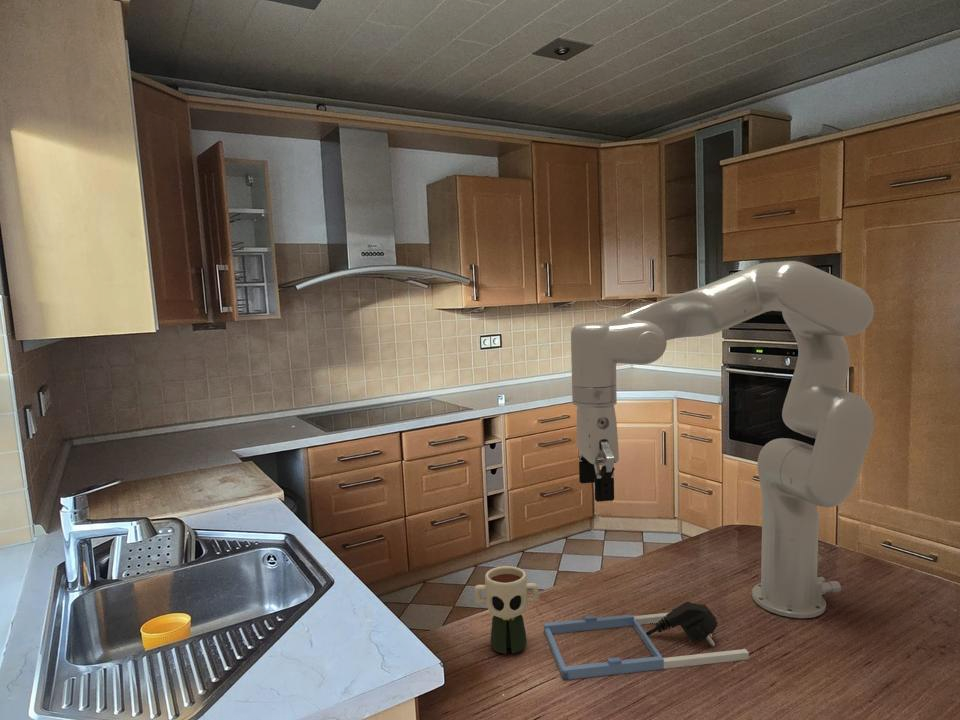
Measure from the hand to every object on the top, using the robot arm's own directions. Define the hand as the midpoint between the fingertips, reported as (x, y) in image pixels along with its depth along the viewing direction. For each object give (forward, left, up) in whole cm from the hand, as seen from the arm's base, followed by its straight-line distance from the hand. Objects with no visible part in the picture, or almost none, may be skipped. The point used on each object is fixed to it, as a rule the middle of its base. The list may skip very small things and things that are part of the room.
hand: (596, 491), depth 108 cm
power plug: (-13, +5, -26) cm, 30 cm away
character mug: (+17, +2, -26) cm, 31 cm away
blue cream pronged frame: (-6, +6, -26) cm, 27 cm away
